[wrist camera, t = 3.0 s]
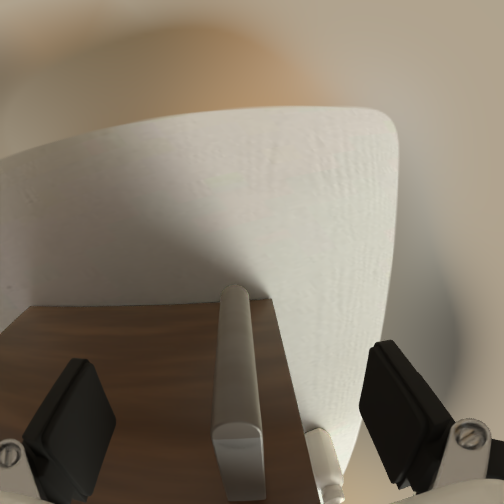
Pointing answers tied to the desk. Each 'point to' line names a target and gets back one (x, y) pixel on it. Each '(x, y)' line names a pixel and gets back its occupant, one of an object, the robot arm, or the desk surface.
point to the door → (172, 398)
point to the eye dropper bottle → (325, 466)
